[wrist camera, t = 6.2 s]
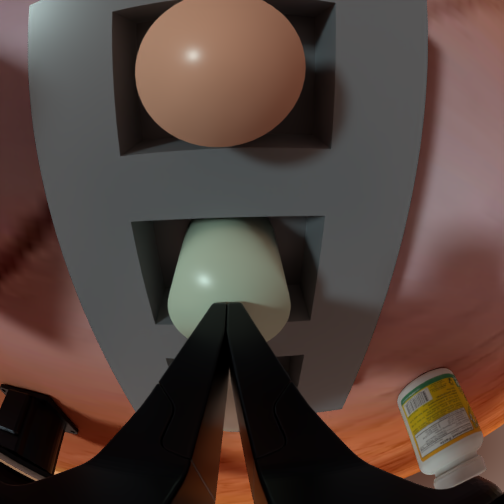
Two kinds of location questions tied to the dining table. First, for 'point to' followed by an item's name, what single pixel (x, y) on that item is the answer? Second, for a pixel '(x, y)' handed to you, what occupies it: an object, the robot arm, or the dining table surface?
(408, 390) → the supplement bottle
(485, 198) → the dining table surface
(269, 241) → the sage button
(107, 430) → the dining table surface
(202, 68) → the terracotta button
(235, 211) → the panel
